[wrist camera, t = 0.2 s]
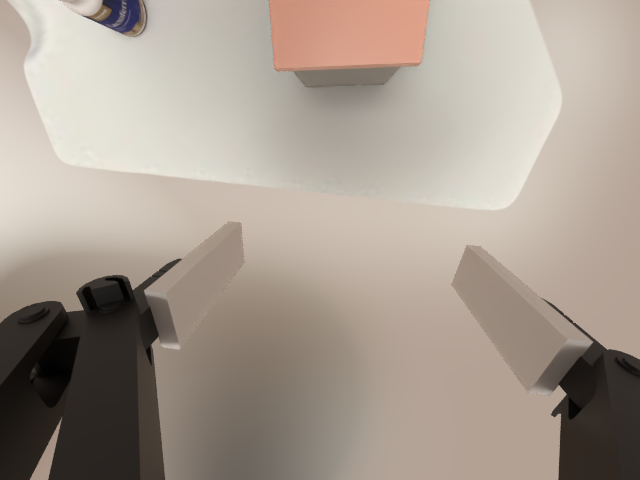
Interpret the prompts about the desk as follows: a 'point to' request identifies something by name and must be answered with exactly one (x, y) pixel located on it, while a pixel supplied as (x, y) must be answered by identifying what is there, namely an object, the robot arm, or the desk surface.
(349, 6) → the lid
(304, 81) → the bin
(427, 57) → the desk surface
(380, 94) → the desk surface
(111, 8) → the pill bottle
